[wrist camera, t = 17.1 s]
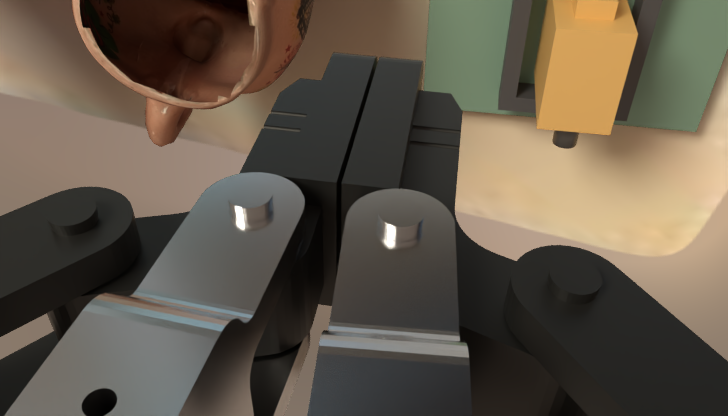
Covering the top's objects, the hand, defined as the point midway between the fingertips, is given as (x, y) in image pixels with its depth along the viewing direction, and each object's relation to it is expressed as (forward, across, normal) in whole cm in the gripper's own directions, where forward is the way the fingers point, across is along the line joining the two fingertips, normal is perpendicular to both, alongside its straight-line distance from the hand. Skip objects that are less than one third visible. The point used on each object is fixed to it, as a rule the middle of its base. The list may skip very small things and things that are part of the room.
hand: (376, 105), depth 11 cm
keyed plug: (+30, -8, +11) cm, 33 cm away
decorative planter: (+32, +13, +8) cm, 35 cm away
